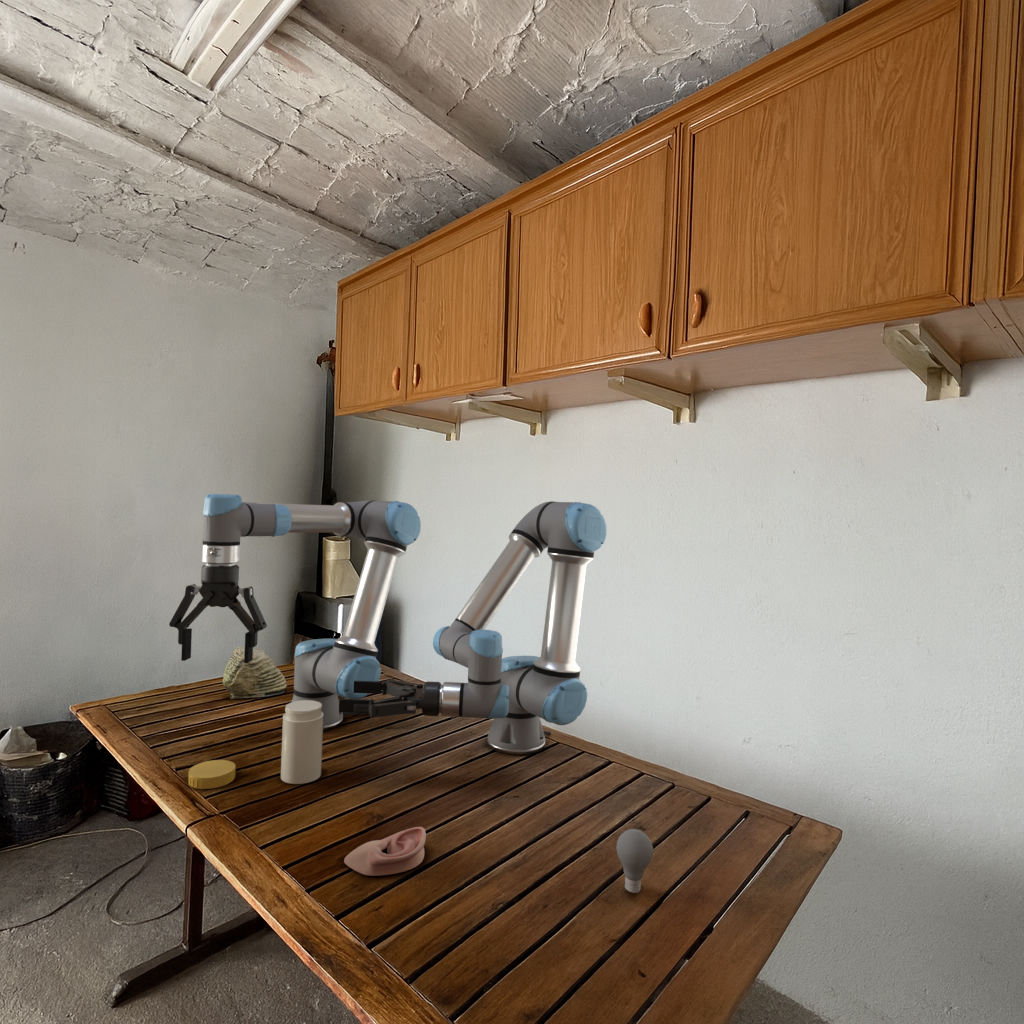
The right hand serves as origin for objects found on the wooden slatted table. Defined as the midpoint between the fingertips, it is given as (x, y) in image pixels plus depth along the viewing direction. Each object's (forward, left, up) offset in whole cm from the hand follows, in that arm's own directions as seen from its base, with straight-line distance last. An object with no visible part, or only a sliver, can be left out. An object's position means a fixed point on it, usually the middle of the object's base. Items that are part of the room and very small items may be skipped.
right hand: (346, 695), depth 143 cm
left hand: (+27, -9, +8) cm, 29 cm away
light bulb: (-36, +60, -19) cm, 72 cm away
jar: (+9, -4, -19) cm, 21 cm away
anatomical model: (0, +35, -19) cm, 40 cm away
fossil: (+14, -68, -19) cm, 72 cm away
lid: (+27, -9, -16) cm, 33 cm away
